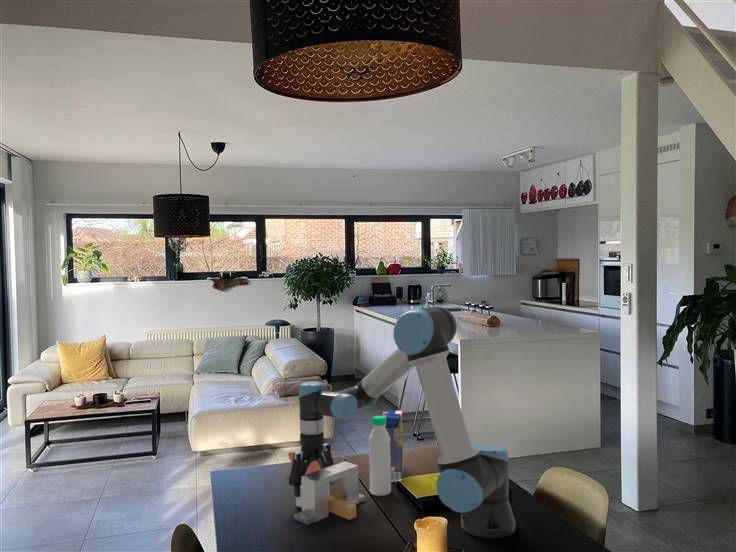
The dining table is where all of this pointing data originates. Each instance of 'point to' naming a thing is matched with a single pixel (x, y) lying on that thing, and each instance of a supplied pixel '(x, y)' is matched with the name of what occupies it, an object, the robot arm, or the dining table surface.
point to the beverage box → (395, 442)
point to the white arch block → (317, 490)
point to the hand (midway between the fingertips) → (313, 501)
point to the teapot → (312, 467)
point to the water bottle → (379, 458)
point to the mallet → (341, 507)
